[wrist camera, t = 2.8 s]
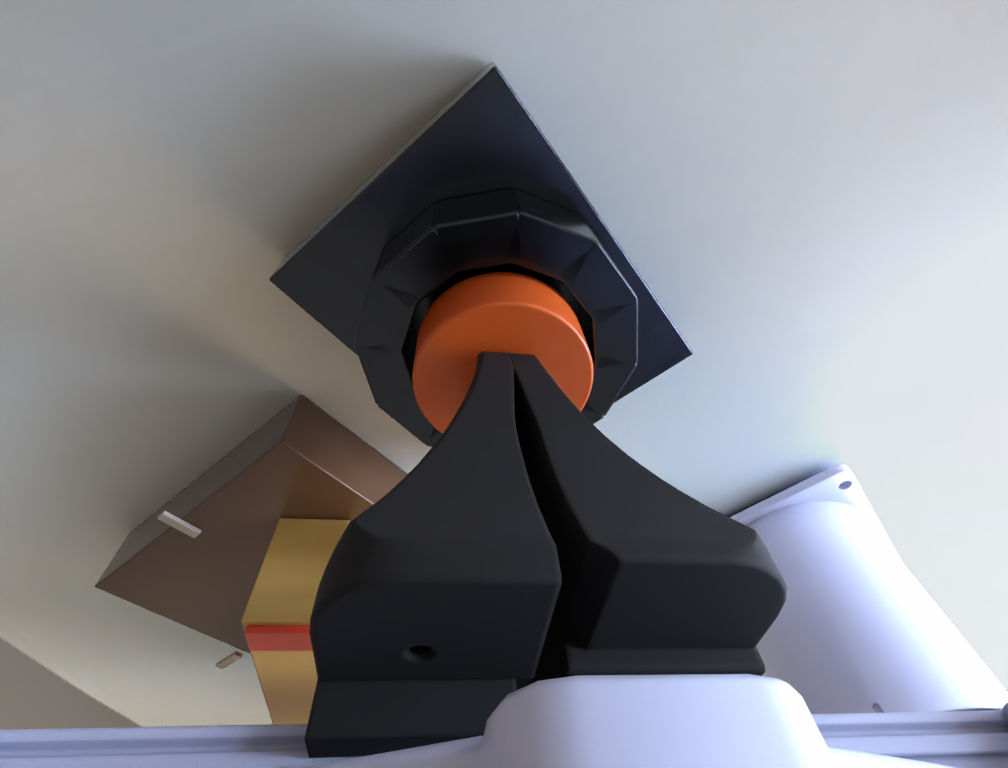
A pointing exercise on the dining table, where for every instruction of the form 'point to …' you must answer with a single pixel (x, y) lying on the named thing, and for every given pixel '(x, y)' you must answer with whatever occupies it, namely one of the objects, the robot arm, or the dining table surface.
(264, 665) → the wooden block
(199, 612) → the holder base
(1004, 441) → the dining table surface
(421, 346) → the release button
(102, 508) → the dining table surface
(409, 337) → the button housing
